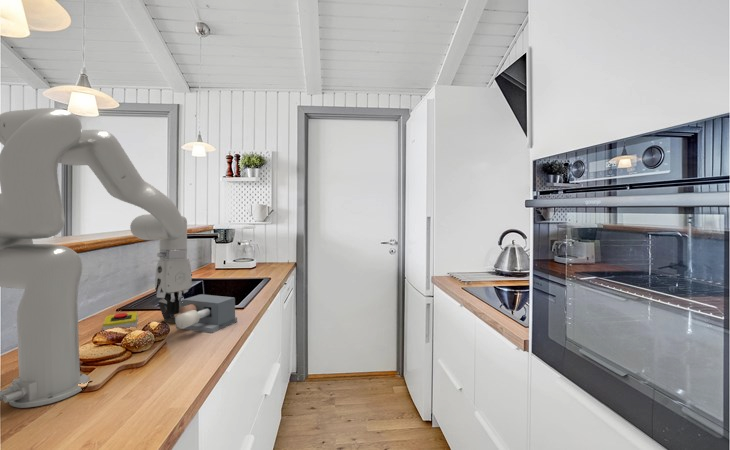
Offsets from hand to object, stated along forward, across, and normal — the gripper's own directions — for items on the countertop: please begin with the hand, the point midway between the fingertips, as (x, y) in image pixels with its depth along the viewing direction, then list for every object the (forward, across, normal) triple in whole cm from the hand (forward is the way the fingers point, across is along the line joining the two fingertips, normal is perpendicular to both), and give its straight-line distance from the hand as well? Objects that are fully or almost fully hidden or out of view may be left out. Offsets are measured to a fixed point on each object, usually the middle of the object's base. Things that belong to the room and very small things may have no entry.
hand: (173, 313), depth 108 cm
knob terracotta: (+3, +8, 0) cm, 9 cm away
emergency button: (+7, +1, +25) cm, 26 cm away
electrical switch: (+6, +10, +11) cm, 16 cm away
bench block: (+6, +11, -3) cm, 13 cm away
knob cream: (+3, +3, -6) cm, 8 cm away
